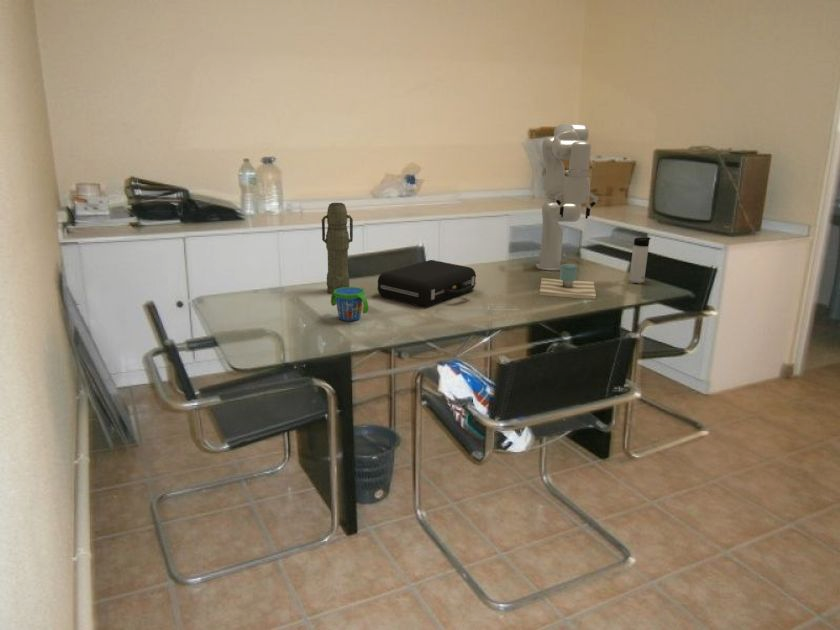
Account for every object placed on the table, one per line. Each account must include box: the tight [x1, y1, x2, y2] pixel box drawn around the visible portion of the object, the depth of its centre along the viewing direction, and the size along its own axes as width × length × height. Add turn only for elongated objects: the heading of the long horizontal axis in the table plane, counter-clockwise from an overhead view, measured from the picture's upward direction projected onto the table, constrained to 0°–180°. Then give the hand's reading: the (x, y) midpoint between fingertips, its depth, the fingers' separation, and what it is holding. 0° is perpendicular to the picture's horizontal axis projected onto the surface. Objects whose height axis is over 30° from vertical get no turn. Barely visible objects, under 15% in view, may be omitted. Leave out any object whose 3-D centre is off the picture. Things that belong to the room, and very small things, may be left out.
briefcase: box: [377, 259, 477, 308], centre depth 259 cm, size 36×32×10 cm
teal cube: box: [558, 263, 579, 282], centre depth 270 cm, size 6×6×6 cm
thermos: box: [321, 202, 354, 295], centre depth 257 cm, size 9×12×35 cm
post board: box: [539, 277, 597, 300], centre depth 271 cm, size 22×22×10 cm
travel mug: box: [628, 236, 651, 284], centre depth 284 cm, size 6×7×20 cm
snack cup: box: [330, 286, 369, 322], centre depth 228 cm, size 16×10×10 cm
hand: (574, 217), depth 263 cm, fingers open, 9 cm apart
